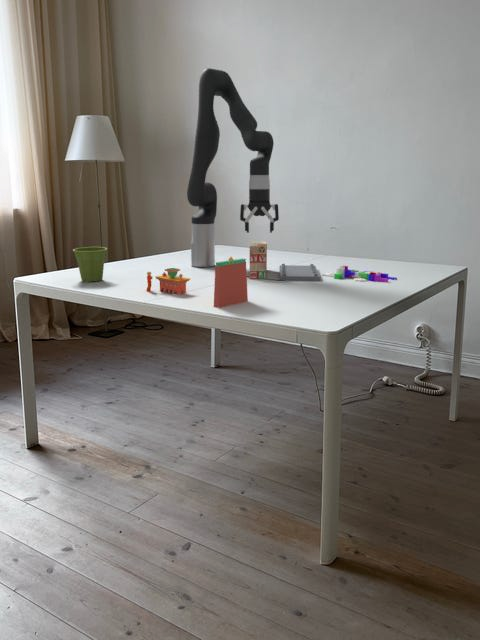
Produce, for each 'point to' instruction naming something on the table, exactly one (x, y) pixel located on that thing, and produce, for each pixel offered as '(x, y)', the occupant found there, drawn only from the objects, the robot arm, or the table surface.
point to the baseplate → (299, 273)
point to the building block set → (359, 275)
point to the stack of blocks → (258, 260)
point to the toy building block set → (227, 282)
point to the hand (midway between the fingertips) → (259, 232)
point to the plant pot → (90, 262)
